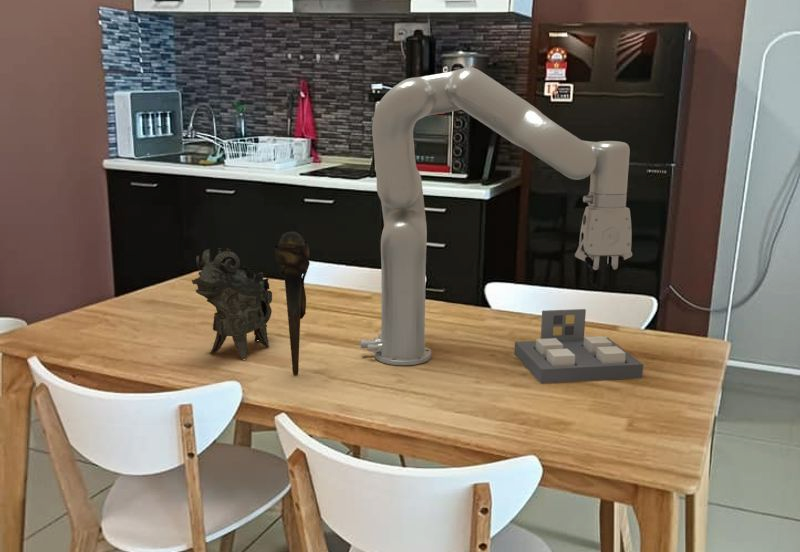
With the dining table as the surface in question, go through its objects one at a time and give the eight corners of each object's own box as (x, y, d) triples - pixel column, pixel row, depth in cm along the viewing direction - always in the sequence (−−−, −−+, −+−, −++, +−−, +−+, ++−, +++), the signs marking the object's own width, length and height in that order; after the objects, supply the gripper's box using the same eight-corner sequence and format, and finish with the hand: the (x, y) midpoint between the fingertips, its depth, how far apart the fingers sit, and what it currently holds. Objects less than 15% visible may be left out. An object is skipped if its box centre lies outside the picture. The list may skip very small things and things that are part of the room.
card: (541, 341, 186) (543, 311, 184) (540, 340, 186) (542, 310, 185) (584, 339, 187) (586, 309, 186) (582, 338, 188) (584, 308, 186)
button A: (553, 367, 170) (554, 356, 170) (546, 360, 175) (546, 349, 174) (574, 366, 171) (575, 355, 170) (566, 359, 175) (567, 348, 175)
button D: (591, 354, 179) (591, 343, 178) (583, 347, 183) (584, 337, 183) (610, 353, 180) (611, 342, 179) (602, 346, 184) (603, 336, 183)
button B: (604, 365, 172) (605, 354, 172) (595, 357, 176) (596, 347, 176) (624, 364, 173) (625, 353, 172) (615, 356, 177) (616, 346, 177)
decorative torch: (298, 382, 168) (296, 236, 161) (271, 376, 171) (267, 233, 164) (318, 372, 173) (316, 231, 166) (291, 366, 177) (288, 228, 170)
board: (540, 383, 169) (541, 369, 168) (514, 354, 186) (514, 341, 185) (642, 377, 172) (643, 364, 172) (606, 350, 190) (607, 337, 189)
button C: (542, 356, 177) (542, 345, 176) (535, 349, 181) (536, 339, 181) (562, 355, 178) (563, 344, 177) (555, 348, 182) (555, 338, 182)
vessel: (181, 365, 176) (177, 251, 173) (250, 340, 199) (247, 239, 195) (224, 371, 172) (220, 254, 168) (289, 345, 194) (287, 241, 190)
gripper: (577, 204, 169) (572, 292, 173) (651, 203, 171) (644, 289, 176) (564, 199, 176) (559, 283, 180) (635, 197, 178) (629, 281, 183)
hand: (601, 285), depth 178 cm, fingers closed
